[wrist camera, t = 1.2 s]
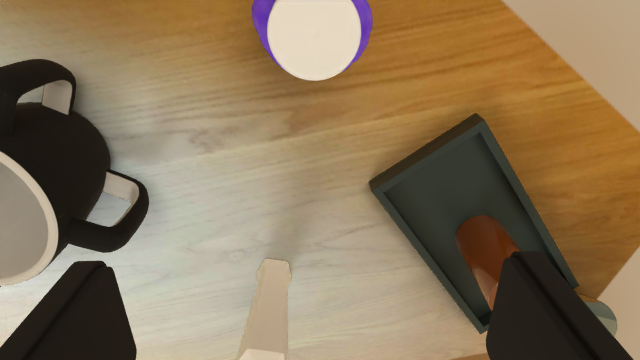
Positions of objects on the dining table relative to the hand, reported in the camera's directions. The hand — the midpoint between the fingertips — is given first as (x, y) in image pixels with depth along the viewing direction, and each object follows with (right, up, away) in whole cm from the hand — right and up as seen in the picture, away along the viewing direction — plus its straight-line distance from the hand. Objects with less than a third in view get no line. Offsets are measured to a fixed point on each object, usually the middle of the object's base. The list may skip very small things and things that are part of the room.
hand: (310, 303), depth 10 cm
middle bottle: (+17, -3, +32) cm, 36 cm away
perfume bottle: (-5, -7, +35) cm, 36 cm away
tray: (+16, -2, +32) cm, 36 cm away
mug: (-24, +6, +28) cm, 37 cm away
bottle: (0, +17, +23) cm, 29 cm away
